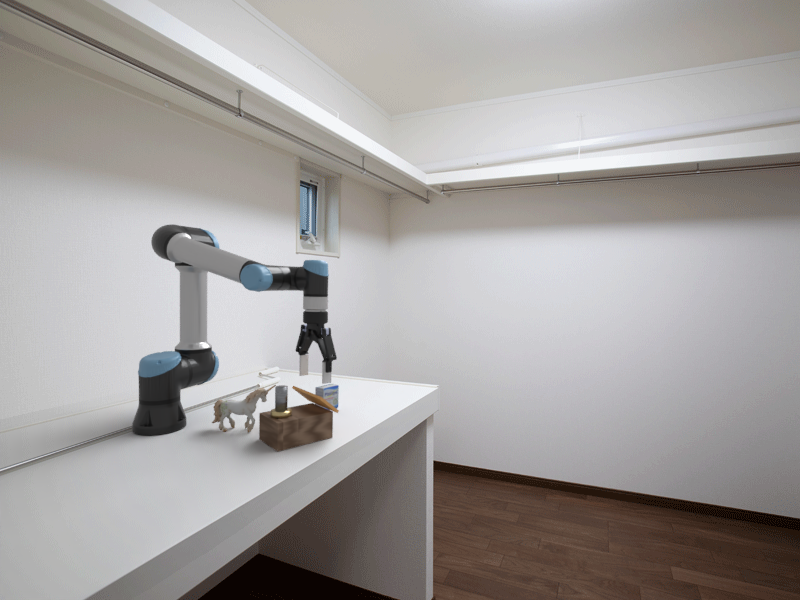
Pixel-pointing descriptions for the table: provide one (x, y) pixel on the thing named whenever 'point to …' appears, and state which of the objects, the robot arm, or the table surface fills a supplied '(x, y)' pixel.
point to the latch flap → (315, 399)
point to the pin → (281, 403)
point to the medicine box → (328, 394)
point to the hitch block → (296, 427)
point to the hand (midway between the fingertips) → (314, 379)
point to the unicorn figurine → (239, 408)
